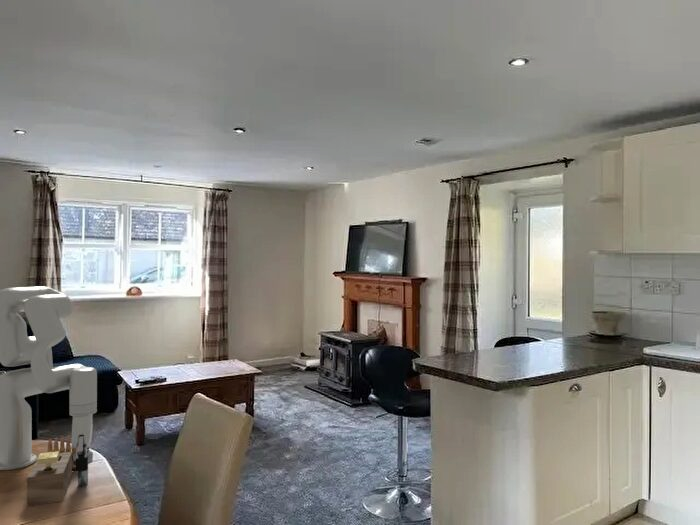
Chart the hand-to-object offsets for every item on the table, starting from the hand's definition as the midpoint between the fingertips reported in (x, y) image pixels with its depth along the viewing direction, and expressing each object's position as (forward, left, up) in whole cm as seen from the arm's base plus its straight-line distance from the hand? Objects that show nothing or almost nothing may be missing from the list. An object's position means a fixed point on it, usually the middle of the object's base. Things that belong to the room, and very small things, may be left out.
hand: (82, 466), depth 161 cm
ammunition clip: (-13, -7, -6) cm, 16 cm away
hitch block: (+1, -9, -6) cm, 10 cm away
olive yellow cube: (+5, -8, +2) cm, 10 cm away
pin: (0, 0, -6) cm, 6 cm away
